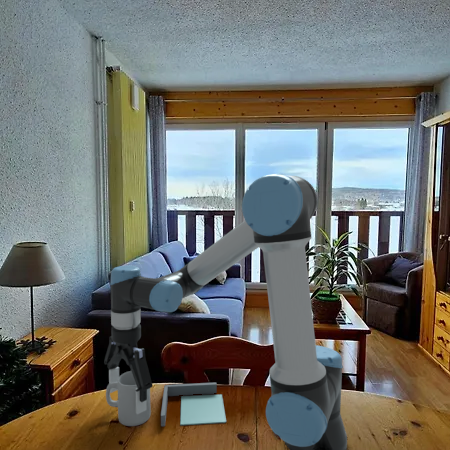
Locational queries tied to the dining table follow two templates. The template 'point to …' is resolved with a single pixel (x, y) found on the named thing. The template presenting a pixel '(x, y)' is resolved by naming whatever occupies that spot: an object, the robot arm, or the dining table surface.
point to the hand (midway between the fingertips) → (127, 400)
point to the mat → (202, 409)
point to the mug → (128, 401)
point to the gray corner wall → (184, 393)
